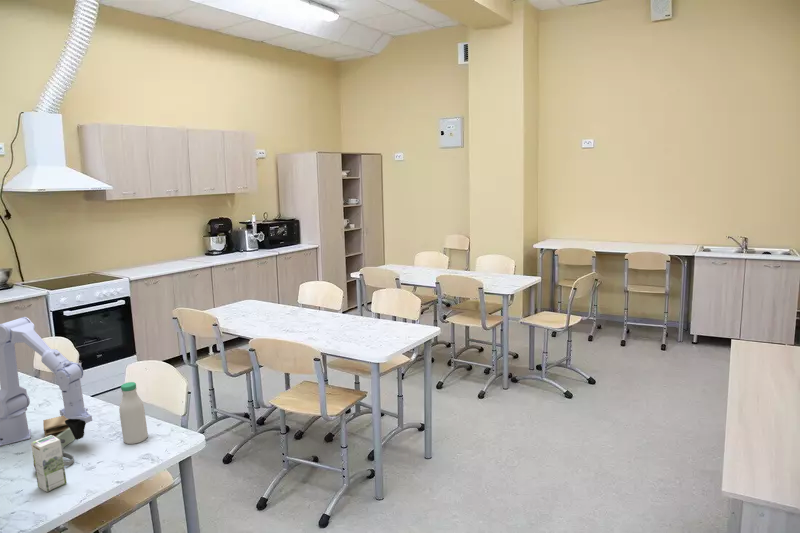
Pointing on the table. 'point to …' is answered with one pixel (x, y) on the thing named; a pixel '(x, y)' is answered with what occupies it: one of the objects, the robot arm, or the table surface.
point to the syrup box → (48, 463)
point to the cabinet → (54, 426)
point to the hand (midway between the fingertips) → (79, 438)
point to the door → (66, 437)
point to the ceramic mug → (66, 457)
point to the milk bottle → (132, 415)
